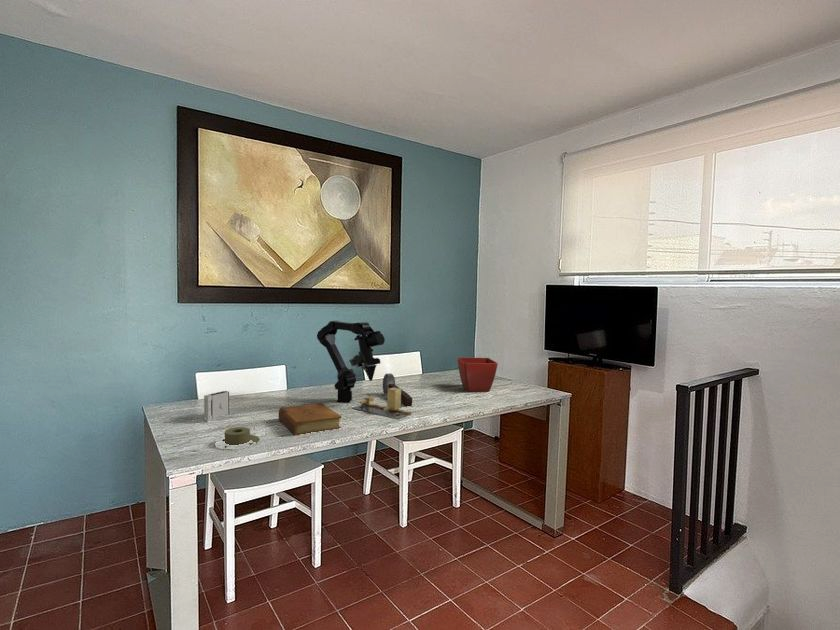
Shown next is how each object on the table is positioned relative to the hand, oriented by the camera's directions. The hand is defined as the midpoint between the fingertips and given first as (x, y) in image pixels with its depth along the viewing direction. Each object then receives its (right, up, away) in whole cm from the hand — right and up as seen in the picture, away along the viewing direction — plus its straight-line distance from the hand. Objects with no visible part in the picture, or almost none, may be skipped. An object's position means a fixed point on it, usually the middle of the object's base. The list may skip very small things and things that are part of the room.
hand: (370, 380), depth 211 cm
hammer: (+12, -12, +15) cm, 23 cm away
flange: (-42, -15, -52) cm, 69 cm away
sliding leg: (+10, -12, -9) cm, 18 cm away
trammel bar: (+6, -13, -6) cm, 16 cm away
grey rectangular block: (-63, -13, -23) cm, 68 cm away
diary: (-22, -14, -29) cm, 39 cm away
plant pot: (+55, -12, +43) cm, 71 cm away
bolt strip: (+5, -13, -9) cm, 16 cm away
